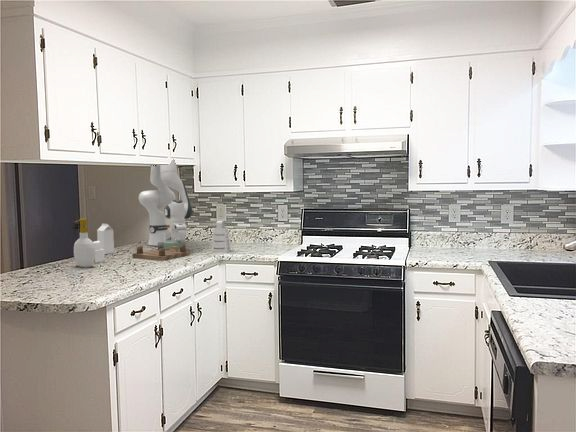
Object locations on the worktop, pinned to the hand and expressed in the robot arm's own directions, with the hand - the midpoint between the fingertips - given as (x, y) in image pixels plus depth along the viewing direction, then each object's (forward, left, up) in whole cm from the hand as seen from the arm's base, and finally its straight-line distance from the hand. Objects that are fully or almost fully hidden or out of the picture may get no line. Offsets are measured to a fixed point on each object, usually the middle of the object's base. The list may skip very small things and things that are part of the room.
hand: (178, 246), depth 309 cm
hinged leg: (+5, -1, -1) cm, 5 cm away
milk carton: (+25, -38, -4) cm, 46 cm away
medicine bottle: (+49, -18, -4) cm, 53 cm away
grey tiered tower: (-16, +22, -4) cm, 27 cm away
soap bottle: (+62, -11, -4) cm, 63 cm away
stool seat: (+17, +2, -4) cm, 18 cm away
